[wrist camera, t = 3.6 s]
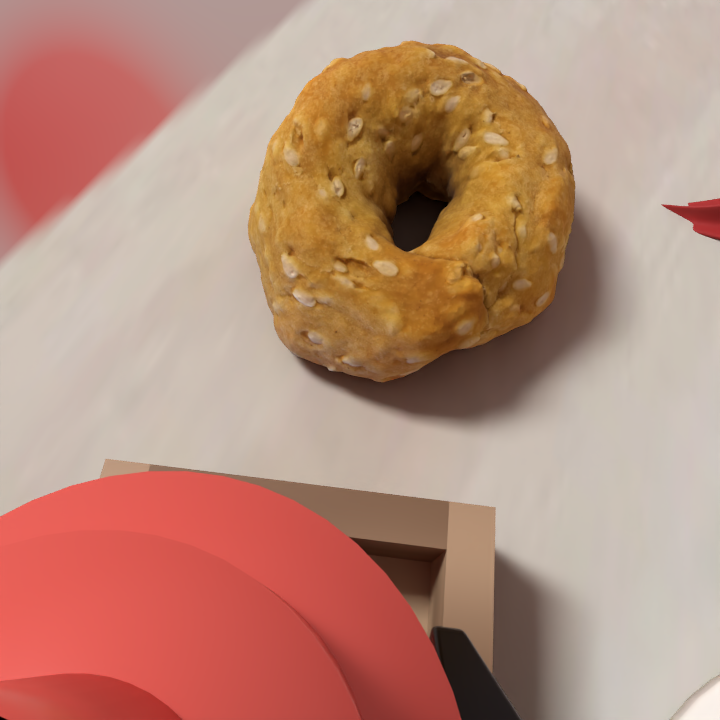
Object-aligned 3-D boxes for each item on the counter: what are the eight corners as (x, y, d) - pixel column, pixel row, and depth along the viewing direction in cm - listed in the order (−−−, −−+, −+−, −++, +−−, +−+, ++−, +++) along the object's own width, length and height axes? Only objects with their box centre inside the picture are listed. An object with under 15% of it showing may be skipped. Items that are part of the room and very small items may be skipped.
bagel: (179, 293, 18) (132, 187, 14) (368, 96, 23) (377, -31, 18) (451, 466, 16) (494, 404, 12) (604, 214, 21) (676, 101, 16)
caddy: (452, 971, 12) (485, 1073, 9) (30, 908, 12) (-63, 990, 9) (468, 530, 15) (495, 507, 13) (147, 489, 16) (105, 458, 13)
